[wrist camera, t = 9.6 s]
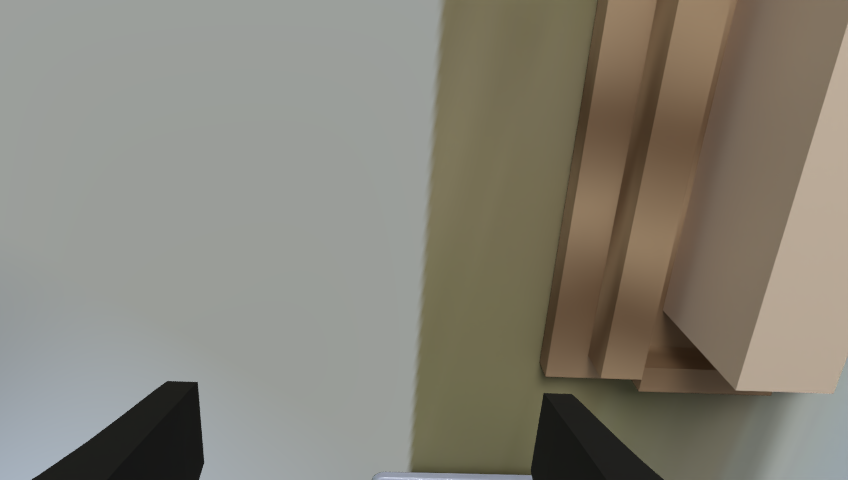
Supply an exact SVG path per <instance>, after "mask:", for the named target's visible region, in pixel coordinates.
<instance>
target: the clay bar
mask: <svg viewBox="0 0 848 480" xmlns="http://www.w3.org/2000/svg"><path fill="white" fill-rule="evenodd" d="M663 311H664V312H665V313H666V314H667V315H668V316H669V317H670V319H671V320H672V321H673V322H674V323H675V324H676V325H677V326H678V327H679V328H680V330H681V331H682V332H683V333H684V334H685V335H686V336H687V337H688V338H689V340H690V341H691V342H692V343H693V344H694V345H695V346H696V347H697V348H698V349H699V351H700V352H701V353H702V354H703V355H704V356H705V357H706V358H707V359H708V360H709V362H710V363H711V364H712V365H713V366H714V367H715V368H716V369H717V370H718V371H719V373H720V374H721V375H722V376H723V377H724V378H725V379H726V380H727V381H728V382H729V384H730V385H731V386H732V387H733V388H734V389H735V390H738V391H769V392H799V393H829V394H833V393H834V391H835V388H836V385H837V383H838V380H839V378H840V375H841V372H842V370H843V367H844V364H845V362H846V359H847V356H848V0H737V2H736V7H735V11H734V15H733V19H732V23H731V27H730V32H729V36H728V40H727V44H726V48H725V52H724V57H723V61H722V65H721V69H720V73H719V78H718V82H717V86H716V90H715V94H714V98H713V103H712V107H711V111H710V115H709V119H708V124H707V128H706V132H705V136H704V140H703V144H702V149H701V153H700V157H699V161H698V165H697V170H696V174H695V178H694V182H693V186H692V190H691V195H690V199H689V203H688V207H687V211H686V215H685V220H684V224H683V228H682V232H681V236H680V241H679V245H678V249H677V253H676V257H675V261H674V266H673V270H672V274H671V278H670V282H669V287H668V291H667V295H666V299H665V303H664V307H663Z"/></svg>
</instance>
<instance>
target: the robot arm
mask: <svg viewBox="0 0 848 480" xmlns="http://www.w3.org/2000/svg"><path fill="white" fill-rule="evenodd" d="M203 464H204V455H203V443H202V430H201V419H200V406H199V393H198V382H176V381H175V382H174V381H173V382H172V381H167V382H166V383H164V384H163V385H161V386H160V387H159V388H157V389H156V390H155V391H153V392H152V393H151V394H149V395H148V396H147V397H146V398H144V399H143V400H142V401H140V402H139V403H138V404H136V405H135V406H134V407H133V408H131V409H130V410H129V411H127V412H126V413H125V414H124V415H122V416H121V417H120V418H118V419H117V420H116V421H114V422H113V423H112V424H110V425H109V426H108V427H106V428H105V429H104V430H102V431H101V432H100V433H98V434H97V435H96V436H94V437H93V438H92V439H90V440H89V441H88V442H86V443H85V444H83V445H82V446H80V447H79V448H78V449H76V450H75V451H73V452H72V453H70V454H69V455H67V456H66V457H64V458H63V459H62V460H60V461H59V462H57V463H56V464H54V465H53V466H51V467H50V468H48V469H47V470H46V471H44V472H43V473H41V474H40V475H38V476H37V477H35V478H33V479H32V480H199V477H200V474H201V471H202V468H203ZM531 474H532V475H500V474H456V473H412V472H380V473H377V474H376V475H374V477H373V478H372V480H664V479H662V478H661V477H660V476H659V475H658V474H656V473H655V472H654V471H653V470H652V469H651V468H650V467H648V466H647V465H646V464H645V463H644V462H643V461H642V460H641V459H639V458H638V457H637V456H636V455H635V454H634V453H633V452H632V451H631V450H630V449H629V448H628V447H626V446H625V445H624V444H623V443H622V442H621V441H620V440H619V439H618V438H617V437H616V436H615V435H614V434H613V433H612V432H611V431H610V430H609V429H608V428H607V427H606V426H605V425H603V424H602V423H601V422H600V421H599V420H598V419H597V418H596V417H595V416H594V415H593V414H592V413H591V412H590V411H589V410H588V409H587V408H586V407H585V406H584V405H583V404H582V403H581V402H580V401H579V400H578V399H577V398H576V397H575V396H573V395H572V394H551V393H544V395H543V401H542V407H541V413H540V418H539V424H538V430H537V436H536V442H535V448H534V454H533V460H532V466H531Z"/></svg>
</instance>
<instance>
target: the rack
mask: <svg viewBox="0 0 848 480" xmlns="http://www.w3.org/2000/svg"><path fill="white" fill-rule="evenodd" d="M736 2H737V0H598V3H597V10H596V16H595V22H594V28H593V34H592V41H591V47H590V53H589V59H588V65H587V72H586V78H585V84H584V90H583V96H582V103H581V109H580V115H579V121H578V127H577V134H576V140H575V146H574V152H573V158H572V165H571V171H570V177H569V183H568V189H567V196H566V202H565V208H564V214H563V220H562V227H561V233H560V239H559V245H558V251H557V258H556V264H555V270H554V276H553V282H552V289H551V295H550V301H549V307H548V313H547V320H546V326H545V332H544V338H543V344H542V351H541V357H540V364H541V367H542V369H543V372H544V374H545V376H546V377H575V378H604V379H631V380H632V382H633V383H634V385H635V386H636V388H637V389H638V391H644V392H674V393H705V394H736V395H766V396H771V394H772V392H769V391H738V390H735V389H734V388H733V387H732V386H731V385H730V384H729V382H728V381H727V380H726V379H725V378H724V377H723V376H722V375H721V374H720V373H719V371H718V370H717V369H716V368H715V367H714V366H713V365H712V364H711V363H710V362H709V360H708V359H707V358H706V357H705V356H704V355H703V354H702V353H701V352H700V351H699V349H698V348H697V347H696V346H695V345H694V344H693V343H692V342H691V341H690V340H689V338H688V337H687V336H686V335H685V334H684V333H683V332H682V331H681V330H680V328H679V327H678V326H677V325H676V324H675V323H674V322H673V321H672V320H671V319H670V317H669V316H668V315H667V314H666V313H665V312H664V311H663V307H664V303H665V299H666V295H667V291H668V287H669V282H670V278H671V274H672V270H673V266H674V261H675V257H676V253H677V249H678V245H679V241H680V236H681V232H682V228H683V224H684V220H685V215H686V211H687V207H688V203H689V199H690V195H691V190H692V186H693V182H694V178H695V174H696V170H697V165H698V161H699V157H700V153H701V149H702V144H703V140H704V136H705V132H706V128H707V124H708V119H709V115H710V111H711V107H712V103H713V98H714V94H715V90H716V86H717V82H718V78H719V73H720V69H721V65H722V61H723V57H724V52H725V48H726V44H727V40H728V36H729V32H730V27H731V23H732V19H733V15H734V11H735V7H736Z"/></svg>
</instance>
